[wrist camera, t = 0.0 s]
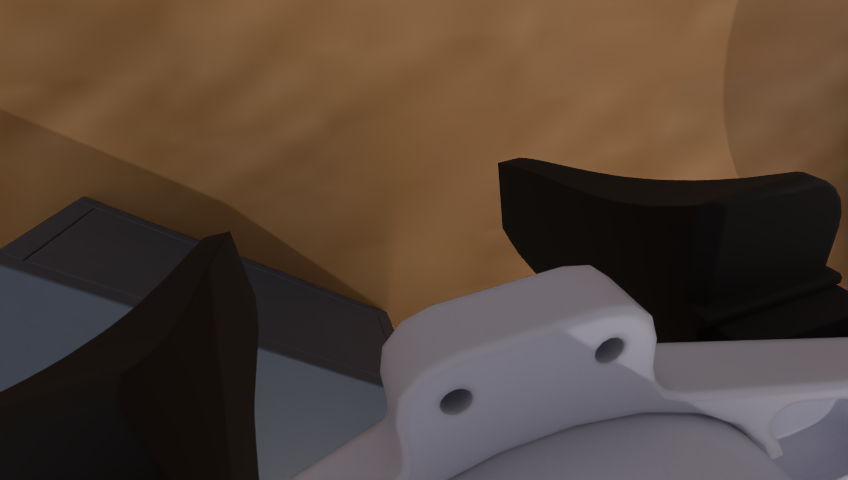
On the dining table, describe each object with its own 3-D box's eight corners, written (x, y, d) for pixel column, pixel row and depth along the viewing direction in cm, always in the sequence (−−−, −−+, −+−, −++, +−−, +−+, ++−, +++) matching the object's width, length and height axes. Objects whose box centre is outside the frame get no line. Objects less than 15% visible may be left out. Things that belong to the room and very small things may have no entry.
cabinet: (286, 497, 28) (285, 634, 21) (-13, 434, 23) (-140, 590, 16) (387, 312, 26) (422, 399, 19) (82, 195, 21) (-17, 259, 14)
